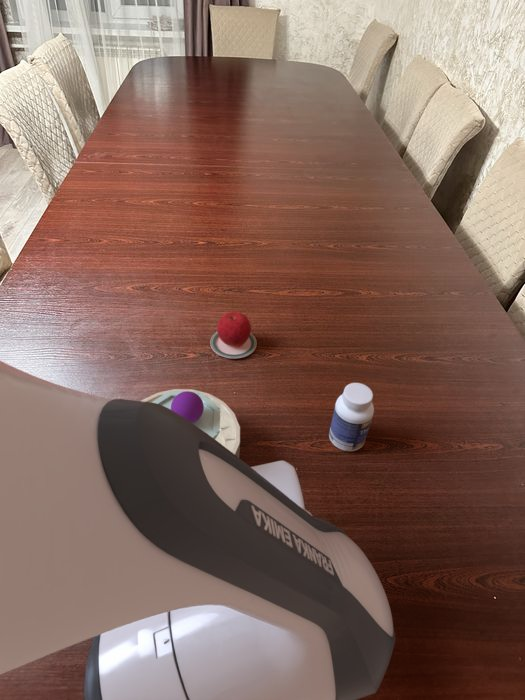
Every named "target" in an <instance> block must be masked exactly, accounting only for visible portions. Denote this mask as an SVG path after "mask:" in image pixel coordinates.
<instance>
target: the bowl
mask: <svg viewBox="0 0 525 700" xmlns="http://www.w3.org/2000/svg"><path fill="white" fill-rule="evenodd" d="M170 391H195V392H199V393H200V392H201V393H202V394H203V395H205V396H206V397H207V398H208V399H210V400H211V401H212V402H213V403H215V404H216V405H217V406H218V407H219V409H220V430H219V433H218V436H217V437H216V439H215V440H216V441H218V442H219V443H220V444H222V445H223V446H224V447H225V448H227V449H228V450H229V451H231V452H232V453H233V454H235V455H236V456H237V457H239V458H240V455H241V453H240V451H241V425H240V424H239V421H238V418H237V416H236V414H235V412H234V411H233V410H232V409H231V408H230V406H228V405H227V404H226V402H224V401H223V400H222V399H220V398H218V397H217V396H215V395H213V394H212V393H208V392H205V391H201V390H197V389H191V388H190V389H189V388H182V389H181V388H174V389H173V388H172V389H168V390H164V391H159V392H156V393H153V394H152V395H150V396H148V397H146V398H143V399H142V400H140V401H142V402H153V401H154V400H156V399H157V398H159V397H161V396H162V395H164V394H165V393H167V392H169V393H170Z"/></svg>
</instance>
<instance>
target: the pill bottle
mask: <svg viewBox="0 0 525 700" xmlns="http://www.w3.org/2000/svg"><path fill="white" fill-rule="evenodd" d="M373 398H374V393H373V391H372V390H371V388H370V387H369V386H367V385H366V384H364V383H360V382H350V383H349V384H347V385H346V386H345V387H344V389H343V391H342V394H340V395H339V396H338V397H337V399H336V401H335V405H334V407H333V413H332V418H331V422H330V425H329V426H330V427H329V432H328V437H329V440H330V442H331V443H332V445H333V446H334V447H336V448H337V449H339V450H341V451H345V452H355V451H358V450H360V449H361V448H363V446H364V444H365V442H366V439H367V437H368V433H369V430H370V426H371V424H372V420H373V417H374V413H375V407H374V404H373Z"/></svg>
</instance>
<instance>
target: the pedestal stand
mask: <svg viewBox="0 0 525 700" xmlns="http://www.w3.org/2000/svg"><path fill="white" fill-rule="evenodd" d="M181 392H185V391H170V393H169V392H167V393H165V394H164V395H162V396H161V397H159V398H157V399H156V400H154V401H153V402H152V403H156V404H160V405H162V406H164V407H167V408H168V409H170V410H171V404H172V401H173V399H174V398H175V397H176V396H177V395H178V394H179V393H181ZM190 392H194V393H196V394H197V395H198V396H199V397H200V398H201V399H202V401H203V405H204V410H203V413H202V416H201V417H200V418H199V419H198V420H197V421H196V422H194V423H192V424H194V425H195V426H197V427H198V428H200V429H201V430H203V431H204V432H205V433H207V434H208V435H210V436H211V437H212V438H214V439H216V437H217V436H218V433H219V430H220V409H219V407H218V406H217V405H216V404H215V403H213V402H212V401H211V400H210V399H208V398H207V397H206V396H205V395H203V394H202V393H201V392H202V391H201V392H200V393H199V392H195V391H190Z"/></svg>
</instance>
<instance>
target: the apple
mask: <svg viewBox="0 0 525 700" xmlns="http://www.w3.org/2000/svg"><path fill="white" fill-rule="evenodd" d="M216 330H217V331H216V332H215V333H213V335H212V336H211V338H210V341H209V342H210V347H211V349H212V351H213V353H215V354H216V355H218V356H220V357H222V358H225V359H233V360H234V359H235V360H236V359H242V358H246V357H248V356H249V355H251V354H253V353H254V352H255V350H256V348H257V339H256V337H255V336H254V334H253V333H252V326H251V322H250V320H249V318H248V317H247V316H246V315H245V314H243V313H241V312H236V311H232V312H231V311H230V312H227V313H225V314H223V315H222V316H221V317H220V319H219V321H218V323H217V328H216Z"/></svg>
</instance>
